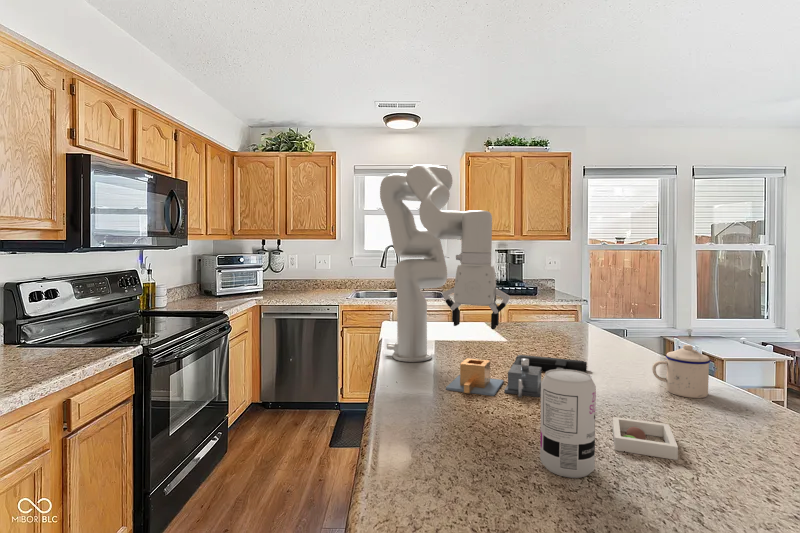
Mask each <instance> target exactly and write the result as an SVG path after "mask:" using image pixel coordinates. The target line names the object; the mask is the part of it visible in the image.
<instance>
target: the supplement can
mask: <svg viewBox="0 0 800 533" xmlns="http://www.w3.org/2000/svg"><path fill="white" fill-rule="evenodd" d="M596 393H597V386H596V384H595V382H594V380H593V378H592V375H591V374H589V373H587V372H586V371H576V370H568V369H554V370H549V371H546V372H545V373H544V376H543V377H542V379H541V397H540V434H539V436H540V440H539V442H540V444H539V446H540V447H539V450H540V451H539V460H540V462H541V464H542V465H543V466H544V467H545V469H546V470H548V471H549V472H551V473H552V474H555V475H557V476H561V477H565V478H570V479H579V478H584V477H587V476H588V475H590V474H592V472H594V471H595V462H596V461H595V459H596V457H595V456H596V452H595V450H596V446H595V445H596V404H597V402H596V398H597V396H596Z"/></svg>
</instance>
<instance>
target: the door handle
mask: <svg viewBox="0 0 800 533" xmlns="http://www.w3.org/2000/svg"><path fill="white" fill-rule="evenodd" d="M523 358H526V359H529V366H535V367H542V372H545V373H546V371H549V370H554V369H568V370H577V371H581V372H586V371H587V367H588V366H587V364H588V363H587V361H584V360H579V359H569V358H559V357H558V358H557V357H548V356H547V357H546V356H537V355H536V356H535V355H526V354H518V355H517V356H516V357H515V360H514V362H513V363H512V365H511V366H510V368H511V367H512V366H513V364H515V365H521V359H523Z"/></svg>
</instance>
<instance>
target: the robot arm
mask: <svg viewBox="0 0 800 533" xmlns="http://www.w3.org/2000/svg"><path fill="white" fill-rule="evenodd" d="M452 185H453V175H452V172H451V171H450V170H449V169H448V168H446V167H445V166H442V165H434V164H433V165H432V164H415V165H412V166H411V167H410V168H408V170H407V171H406V173H405V174H404V173H392V174H389V175H386V176H385V177H383V179H382V180H381V182H380V186H379V197H380V198H379V199H380V203H381V206H382V208H383V212H384V213H385V215H386V217H387V221H388V226H389V230H390V237H391V241H392V246H393V251H394V252H395V254H396V256H397V257H400V258H409V259H403V260H400V261H399V262H397V264H395V267H394V269H393V276H394V282H395V289H396V299H397V300H396V303H397V304H396V307H397V308H396V310H397V311H396V312H397V314H396V318H397V324H396V326H397V328H396V329H397V330H396V332H397V337H396V338H397V340H396V341H397V342H395V343H394V342H387V343H386V349H387V350H390V351H391V350H393V351H394V352H393V353H392V358H393V360H396V361H400V362H404V363H405V362H407V363H418V362H427V361H429V360H431V359H432V358H433V357H432V356H433V355H432V352H430V351H428V303H427V299H426V297H425V296H424V294H423V292H422V291H421V289H436V288H437V289H438V288H441V287H443V286H444V285H445V284H446V283H447V280H448V267H447V264H446V260H445V255H444V250H443V246H442V241H441V240H461V245H460V246H461V249H460V250H461V252H460V254H456V255H455V260H456V261H459V262H460V264H458V265H457V267H456V273H455V280H454V286H452V288H449V289H447V290H445V291H443V292H442V293H441V294H442V297H443V299H444V301H445V303H446V305H447V306H448V307H449V309H450V311H451V322H452V323H453V327H457V326H459V325H460V323H461V322H460V321H461V320H460V317H461V315H460V314H461V311H460V309H459V307H460V306H461V305H463V306H464V305H465V306H466V305H467V306H477V307H479V306H481V307H483V306H484V307H489V308H490V310H492V311H491V312H492V313H491V315H490V318H491V319H490V329H491V330H495V329H497V327H498V326H499V324H500V323H499V321H500V320H499V319H500V318H499V317H500V316H499V314H500V312H501V311H502V310H503V309H505V307H506V306H507V305H508V303H509V301H510V300H511V296H510V295H509V294H507V293H505V292H504V291H502V290H501V289H499V288H497V278H496V271H495V270H496V269H495V266H494V265H492V250H493V249H492V243H493V242H492V241H493V239H492V238H493V237H492V236H493V215H492V213H491V212H490V211H488V210H466V211H459V210H441V209H443V208H444V207H445V206H446V205H447V203H448V202H449V201H450V190H451V189H452ZM403 201H409V202H412V201H413V202H420V204H419V209H418V210H419V212H418V214H419V220H420V222H421V225H422V226H423V227H424V228H418V227H417V226H416V222H415V217H414V214H413V213H412V211H411V209H410V208H409V207H408V206H407V205H406V204H405V203H404V202H403ZM451 294H453V299H451ZM497 297H500V298H501V299H502V301H501V303H499V305H498V304H497ZM453 300H454V301H453Z"/></svg>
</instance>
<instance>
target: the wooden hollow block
mask: <svg viewBox="0 0 800 533" xmlns="http://www.w3.org/2000/svg"><path fill="white" fill-rule="evenodd" d="M459 371H460V372H459V375H460V385H461V386H464V392H463V393H464V394H465V393H466V394H471V393H470V392H471V391H472V390H473V389H474V387H477V388H485V387H486V386H487V385H488V383H489V382H490V378H491V360H488V359H478V358H470V357H469V358H465V359H464V360H463V361H461V362H460V366H459Z"/></svg>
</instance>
